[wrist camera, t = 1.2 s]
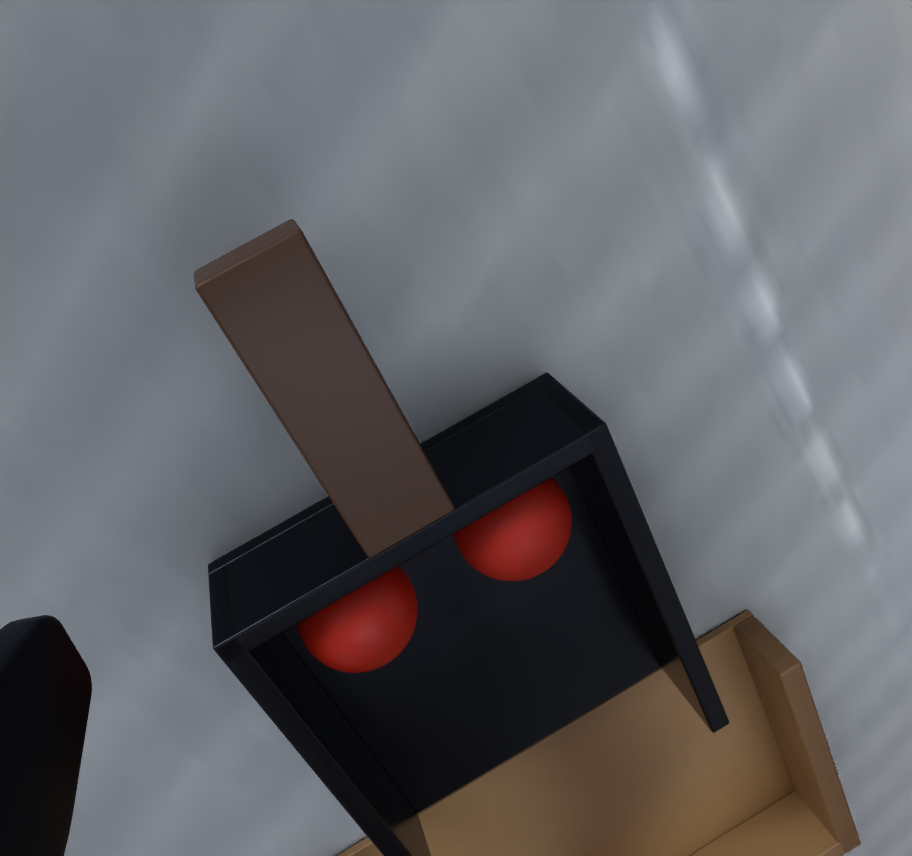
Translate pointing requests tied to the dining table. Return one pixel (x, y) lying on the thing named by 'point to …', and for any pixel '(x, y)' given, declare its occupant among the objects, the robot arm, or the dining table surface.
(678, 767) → the tray
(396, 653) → the tomato
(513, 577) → the tomato
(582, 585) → the pan
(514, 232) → the dining table surface
